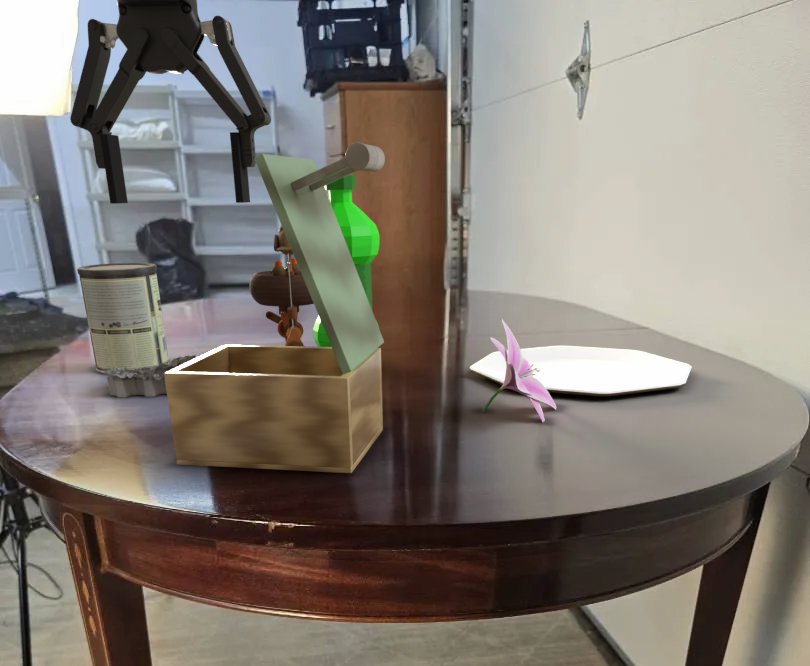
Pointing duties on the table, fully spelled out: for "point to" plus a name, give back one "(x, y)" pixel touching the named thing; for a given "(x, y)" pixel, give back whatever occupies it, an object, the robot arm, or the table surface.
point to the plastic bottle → (351, 240)
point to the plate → (592, 370)
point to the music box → (283, 292)
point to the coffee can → (124, 315)
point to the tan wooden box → (274, 408)
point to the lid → (325, 246)
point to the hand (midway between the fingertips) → (180, 203)
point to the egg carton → (142, 379)
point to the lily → (521, 375)
